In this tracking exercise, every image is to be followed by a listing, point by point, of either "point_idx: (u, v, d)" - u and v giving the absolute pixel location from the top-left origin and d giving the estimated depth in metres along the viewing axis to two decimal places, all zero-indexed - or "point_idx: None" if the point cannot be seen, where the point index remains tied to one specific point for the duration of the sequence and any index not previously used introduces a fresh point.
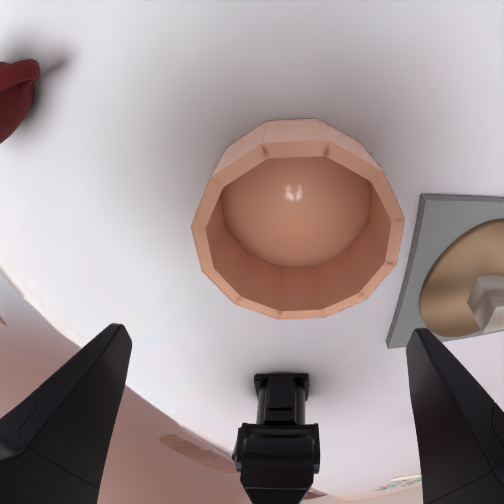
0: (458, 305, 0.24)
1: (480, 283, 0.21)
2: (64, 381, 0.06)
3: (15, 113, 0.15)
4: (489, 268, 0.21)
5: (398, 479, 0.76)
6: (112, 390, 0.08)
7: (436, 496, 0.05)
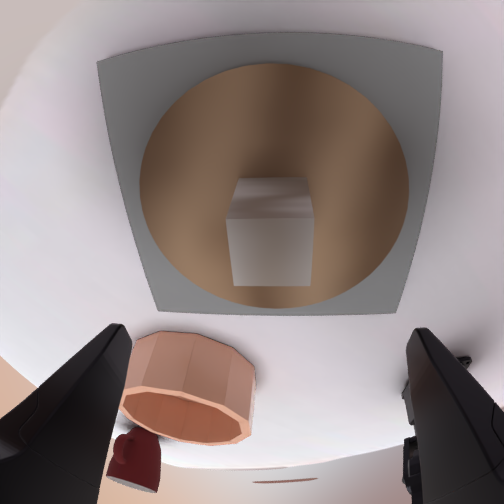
0: None
1: None
2: (64, 381, 0.06)
3: (143, 447, 0.37)
4: (226, 215, 0.16)
5: None
6: (112, 390, 0.08)
7: (436, 496, 0.05)
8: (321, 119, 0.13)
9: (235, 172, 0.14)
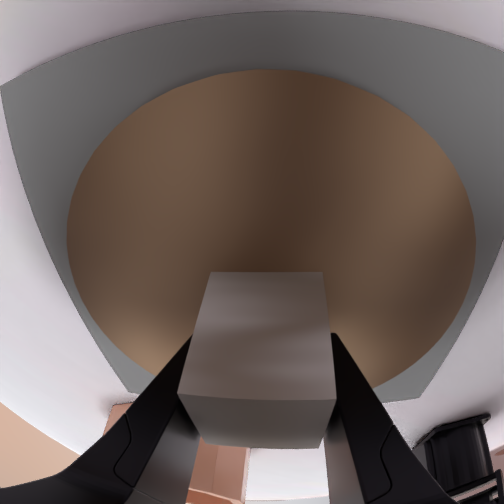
0: None
1: None
2: (159, 402, 0.06)
3: None
4: (197, 318, 0.10)
5: None
6: None
7: None
8: (355, 178, 0.07)
9: (205, 264, 0.09)
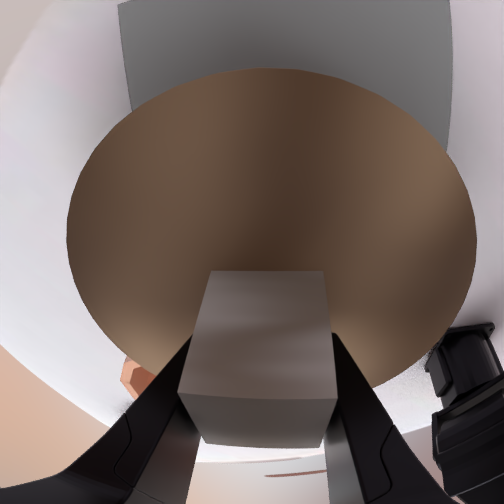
0: None
1: None
2: (159, 402, 0.06)
3: None
4: (197, 317, 0.10)
5: None
6: None
7: None
8: (356, 177, 0.07)
9: (205, 262, 0.09)
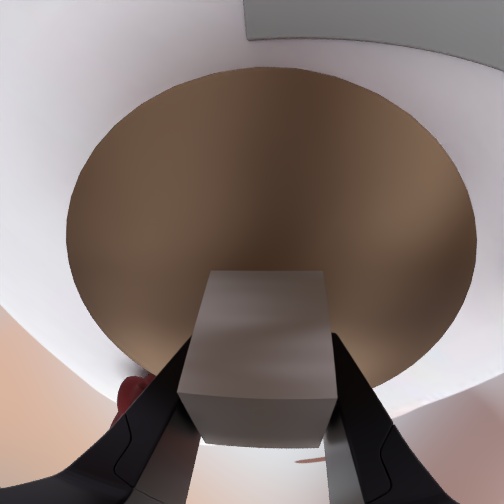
0: None
1: None
2: (159, 402, 0.06)
3: None
4: (197, 317, 0.10)
5: None
6: None
7: None
8: (356, 177, 0.07)
9: (205, 262, 0.09)
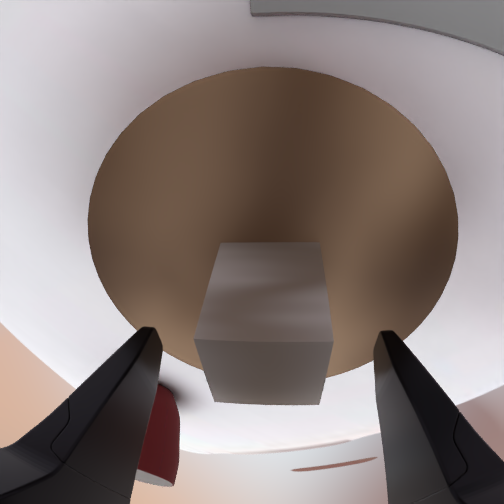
0: None
1: None
2: (97, 390, 0.06)
3: (154, 410, 0.25)
4: (206, 288, 0.11)
5: None
6: (145, 396, 0.08)
7: None
8: (346, 158, 0.08)
9: (215, 235, 0.10)
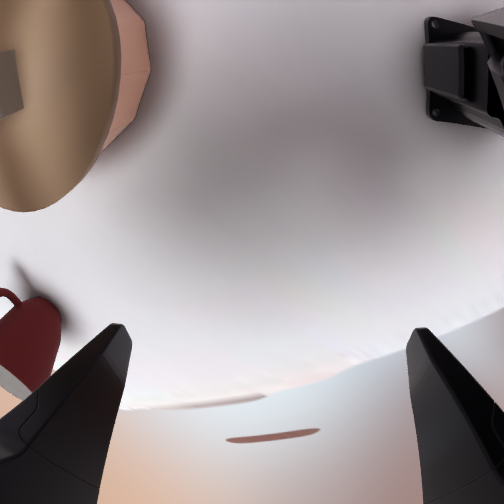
0: (32, 123, 0.11)
1: None
2: (64, 381, 0.06)
3: (28, 315, 0.23)
4: None
5: None
6: (112, 390, 0.08)
7: (436, 496, 0.05)
8: None
9: None
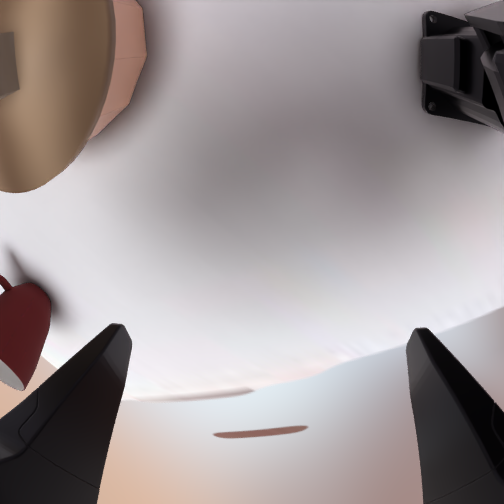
0: (27, 104, 0.10)
1: None
2: (64, 381, 0.06)
3: (17, 300, 0.23)
4: None
5: None
6: (112, 390, 0.08)
7: (436, 496, 0.05)
8: None
9: None
